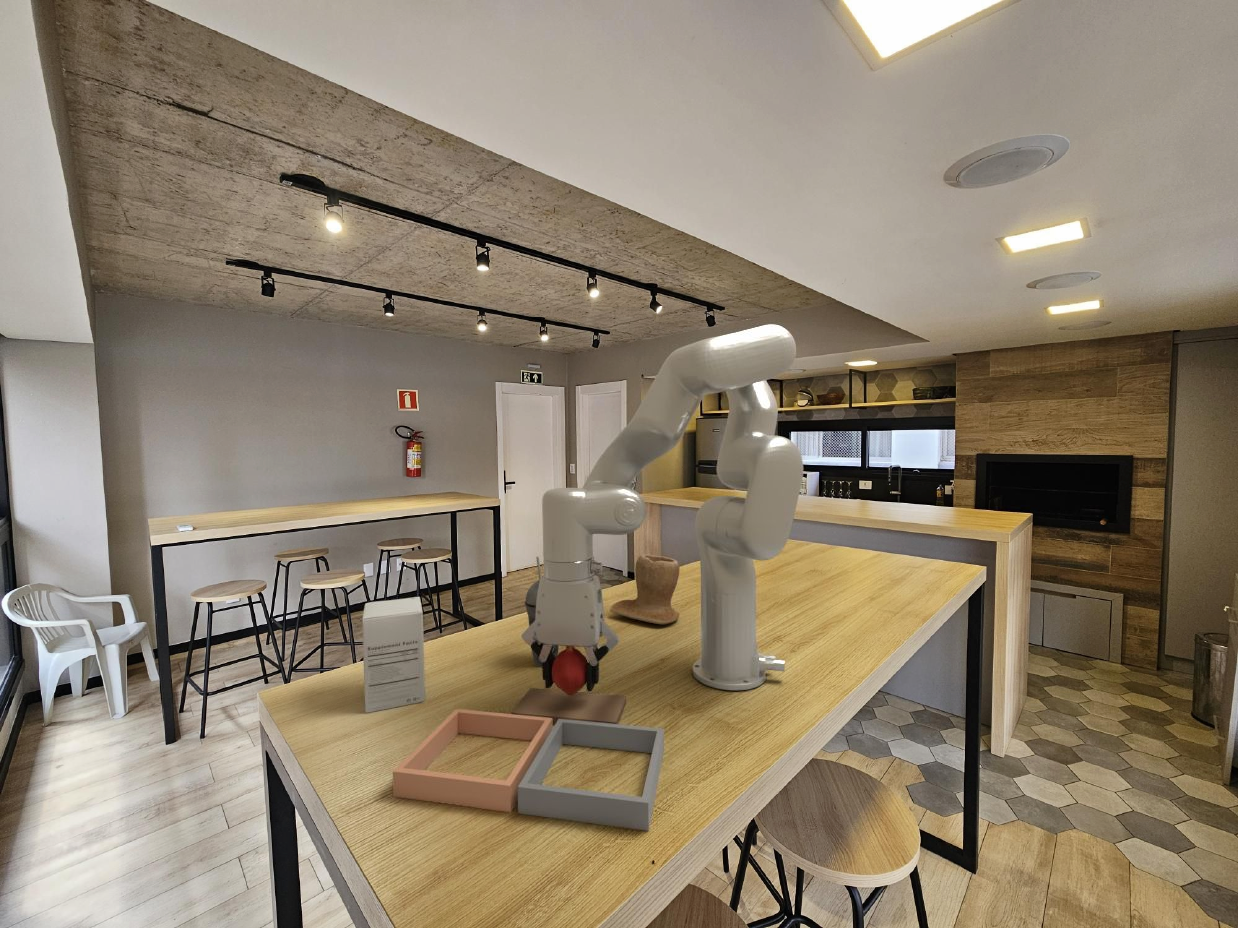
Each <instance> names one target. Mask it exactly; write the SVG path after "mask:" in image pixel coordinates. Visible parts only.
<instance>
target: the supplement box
mask: <svg viewBox="0 0 1238 928" xmlns="http://www.w3.org/2000/svg"><path fill="white" fill-rule="evenodd" d="M423 613H424V612H423V607H422V602H421V597H420V596H414V597H407V598H406V597H405V598H399V599H398V598H397V599H391V600H379V601H371V602H367V603H365V604H364V607H363V614H362V617H361V618H362V620H361V621H362V626H361V627H362V651H363V652H362V655H363V656H362V657H363V658H362V659H363V684H364V685H363V686H364V687H363V688H364V689H363V690H364V707H365V709H364V712H365V714H369V713H372V712H378V711H384V710H388V709H389V710H390V709H394V708H398V707H402V706H403V707H404V706H409V705H413V704H418V703H424V702H425V701H426V687H425V686H426V684H425V650H424V649H425V648H424V647H425V645H424V642H425V641H424V616H423V615H424V614H423Z"/></svg>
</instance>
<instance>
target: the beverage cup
mask: <svg viewBox="0 0 1238 928" xmlns="http://www.w3.org/2000/svg"><path fill="white" fill-rule="evenodd" d="M536 566H537V573H538V579H539V580H537V581H535V582H534V583H533V584H531V586H529V588H528V589H527V591H526V595H525V601H524V605H525V609H526V613H527V619H528V627H529V626H530V625H531V624H532V623H533V622H534V621H535V615H536V602H537V594H538V588H539V582H540V579H541V578H542V577H543V576H542V571H541V563H540V557H539V556H536ZM535 636H536V634H535ZM559 647H560V645H555V646H554V649H553V652H552V653H553V655H555V657H557V656H558V654H559V649H560V648H559ZM531 656H532V661H533V665H534V666H537V667H541V668H542V662H541V661H540V660H539V656H538V655H537V654H536V653H535V652H534V651H533V650H532V649H531Z"/></svg>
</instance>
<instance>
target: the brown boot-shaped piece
mask: <svg viewBox="0 0 1238 928" xmlns="http://www.w3.org/2000/svg"><path fill="white" fill-rule="evenodd" d="M680 571H681V569H680V563H679V561H678V560H676V559H674V558H671V557H666V556H660V555H655V554H654V555H652V554H641V555H640V556H639V557H638V558H637V560H636V562H635V585H636V590H637V591H636V593H637V594H636V595H637V597H636V598H635V599H622V600H619V601H617V602H615V603H614V604H613V605H611V607H610V610H609V611H610V612H611V613H614V614H616V615H620V616H624V617H626V618H629V619H633V620H636V621H637V620H638V621H642V622H646V623H651V624H656V625H667V624H671V623H673V622H675V621H677V620H678V619H679V618H680V613H679V612H678V611H677V610H675V608H673V607H672V599H673V596H674V592H675V590H676V588H677V585H678V581H679V577H680Z"/></svg>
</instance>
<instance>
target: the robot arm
mask: <svg viewBox="0 0 1238 928" xmlns="http://www.w3.org/2000/svg"><path fill="white" fill-rule="evenodd" d="M796 345H797V344H796V341H795V339H794V337H793V335H792V334H791V332H790V331H788V329H787V328H784V327H783V326H782V325H778V324H774V323H773V324H771V323H769V324H765V325H764V324H763V325H761V326H757V327H753V328H752V327H751V328H749V329H743V330H740V331H737V332H733V333H728V334H723V335H719V336H713V337H709V338H705V339H701V340H698V341H696V342H693V343H689V344H687V345H684V346H681V347H679V348H677V349H675V350H674V351H672V352H671V353H670V354H669V355H668V356H667V358H666V359H665V360H664V362H663V364H662V366H661V367H660V369H659V371H658V373H657V375H656V376H655V378H654V380H653V382H652V383H651V385H650V387H649V389H648V390H647V392H646V394H645V396H644V397H643V399H642V402H641V403H640V404H639V407H638V409H637V410H636V411H635V414H634V416H633V417H632V419H631V420H630V421H629V423H628V424H627V425H626V426H625V427H624V428H623V429H622V430H621V432H620V433H619V434H618V435H617V436H616V437H615V438H614V440H613V441H612V442H611V443H610V444H609V445H608V447H606V449H605V450H604V451H603V453H601V455H600V457H599V458H598V460H597V461H596V463H595V464H594V466H593V467H592V470H591V471H590V473H589V476H587V479H586V481H585V482H584V484H583V486H582V488H579V487H560V488H559V487H557V488H552V489H548V490H547V491H545V492H544V494H542V495H543V496H542V499H541V502H542V503H541V504H542V506H541V507H542V508H541V509H542V546H543V547H542V551H543V552H542V553H543V554H542V556H543V557H542V558H543V576H541V577H542V578H541V579H540V582H539V588H538V594H537V602H536V615H535V621H534V622H533V623H532V624H531V625H530V626H529V625H528V627H527V628H526V630H525V631H523V633H522V634H521V639H522V640H523V641H524V642H525V643H526V644H527V645H528V646H529V647H530V649H531V651H532V650H533V651H534V652H535V653H536V654H537V655H538V656H539V660H540V661H541V662H542V667H541V669H542V670H541V671H542V681H544V684H545V685H544V687H545V688H544V689H550V688H552V687H553V685H554V684H555V683H554V682H553V680H552V665H553V662H554V660H555V658H556V657H555V655H553V653H552V652H553V649H554V646H555V645H559V647H561V646H562V647H566V646H574V647H577V648H578V647H579V648H583V649H584V653H585V654H586V657H587V661H588V664H587V666H586V684H585V686H586V691H587V693H593V690H594V688H595V686H596V685H597V684H599V681H600V661H601V660H602V659H603V658H605V656H607V654H608V653H609V652H610V651H611V650H612V649H613V648H615V647H616V646H617V645H618V643H619V642H620V636H619V635H618V634H617V632H615V631H614V630H613V629H612V628H611V626H610V625H609V624H608V623H607V622H606V620H605V609H604V608H605V607H604V600H603V599H604V598H603V593H602V587H601V586H602V585H601V581H600V578H599V576H598V575H595V573H598V572H599V573H600V572H603V563H602V562H598V561H596V559H595V556H594V544H593V541H594V540H593V539H594V538H593V537H594V536H593V535H612V536H624V535H625V536H626V535H628V534H631V533H633V532H635V531H636V530H638V529H639V528H640V527H641V526H642V525H643V523H644V522H645V520H646V517H647V506H646V505H647V504H646V502H645V500H644V498H643V497H642V496H641V494H640V493H639V492H638V491H637V490H635V489H633V488H631V487H630V486H631V485H632V483H633V481H634V480H635V479H636V477H637V476H638V475H639V474H640V473H641V472H642V471H643V470H644V469H645V468H646V467H647V466H648V465H650V464H652V463H653V462H654V461H656V460H658V459H660V458H661V457H663V456H665V455H666V454H669V452H670V451H672V450H673V449H675V447H677V446H678V444H679V443H680V441H681V439H682V438H683V436H684V434H685V432H686V430H687V428H688V426H689V424H690V422H691V420H692V418H693V417H694V414H695V413H696V412H697V409H698V407H699V406H700V404H701V401H702V400H703V399H704V397H705V396H706V395H713V394H717V393H722V392H725V393H726V396H727V400H728V406H729V407H728V415H727V420H726V425H725V428H724V429H725V430H724V433H723V437H722V441H721V445H720V449H719V453H718V457H717V464H716V474H717V477H718V480H719V481H720V482H721V484H723V485H725V487H728V488H730V489H734V490H737V491H746V496H745V497H739V496H734V495H733V496H731V495H718V496H714V497H711V498H709V499H706V500H705V501H704V502H703V503H702V505H700V507H699V509H698V511H697V512H696V516H695V519H694V520H695V521H694V523H695V525H694V529H695V530H694V532H695V537H696V543H697V547H698V553H699V562H700V630H701V631H700V637H701V638H700V645H701V646H700V649H701V650H700V651H701V652H700V653H701V655H700V658H698V659H697V660H696V661H695V662H694V663H693V664H692V673H693V677H694V678H695V679H696V680H698V682H701V683H702V684H703V685H706V686H708V687H710V688H711V687H712V688H715V689H718V690H719V689H720V690H725V691H726V690H727V691H745V690H746V691H747V690H751V689H754V688H758V687H759V686H762V684H763V683H764V682H765V681H766V677H767V676H766V675H767V674H766V673H767V672H766V671H775V672H785V670H786V669H785V668H786V666H785V659H782V658H781V659H780V658H776V655H775V654H762V652H759V648H758V645H757V574H756V568H755V564H754V561H753V560H756V561H760V562H761V561H762V562H763V561H764V562H765V561H768V560H772V559H774V558H775V557H777V556H778V555H780V553H781V552H782V551H783V549H784V548H785V546H786V544H787V543H788V540H789V537H790V534H791V530H792V526H793V522H794V517H795V514H796V509H797V505H798V501H799V495H800V491H801V487H802V483H803V477H804V464H803V463H804V462H803V457H802V454H801V452H800V450H799V448H798V446H797V445H796V443H794V442H793V441H792V440H790V439H789V438H786V437H784V436H780V435H775V434H776V428H777V423H778V414H779V413H778V412H779V410H778V409H779V407H778V403H777V399H776V397H775V394H774V392H773V391H772V389H771V387H770V385H769V383H768V382H767V380H771V379H774V378H778V377H780V376H782V375H784V374H785V373H786V372H788V371H789V370H790V369H791V367H792V366H793V364H794V362H795V360H796V357H797V346H796ZM535 634H536V636H535ZM600 637H604V639H606V641H605V643H603V644H602V645H600V646H599V645H598V644H599V643H600Z"/></svg>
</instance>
